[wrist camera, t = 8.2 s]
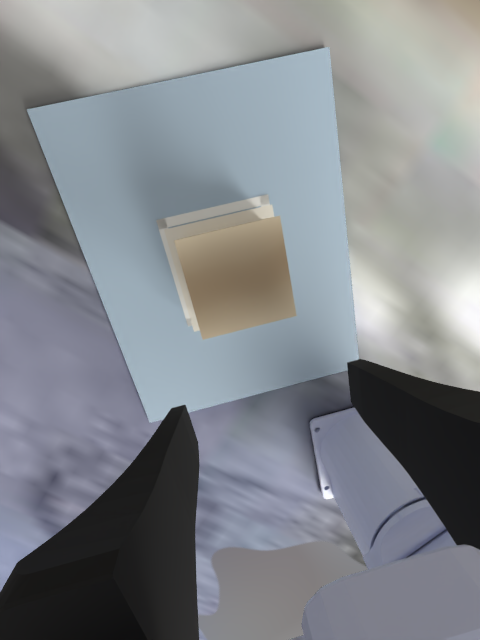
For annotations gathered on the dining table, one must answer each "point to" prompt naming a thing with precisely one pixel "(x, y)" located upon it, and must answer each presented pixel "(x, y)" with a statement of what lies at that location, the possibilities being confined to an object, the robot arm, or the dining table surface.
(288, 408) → the dining table surface
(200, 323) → the maple block
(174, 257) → the base block
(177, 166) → the board
